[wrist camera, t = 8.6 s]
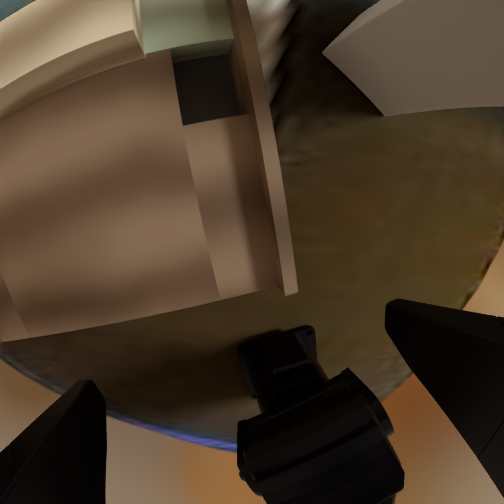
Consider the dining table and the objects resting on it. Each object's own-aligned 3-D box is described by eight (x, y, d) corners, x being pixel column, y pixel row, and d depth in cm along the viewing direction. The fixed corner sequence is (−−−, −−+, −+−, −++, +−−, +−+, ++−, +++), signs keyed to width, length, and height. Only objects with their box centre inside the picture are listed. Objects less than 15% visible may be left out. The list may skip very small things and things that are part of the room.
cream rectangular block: (145, 58, 12) (133, 29, 9) (-14, 129, 11) (-50, 126, 7) (139, -3, 11) (130, -38, 7) (-13, 68, 9) (-45, 57, 5)
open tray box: (277, 266, 21) (298, 292, 17) (11, 325, 18) (-12, 352, 14) (224, -13, 14) (234, -47, 10) (-38, 91, 11) (-68, 85, 6)
